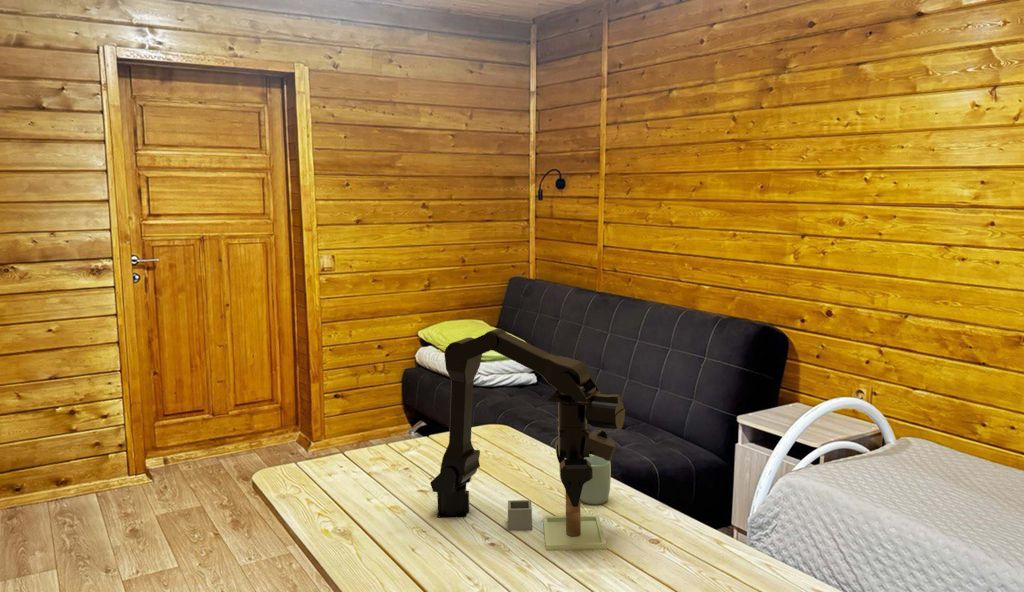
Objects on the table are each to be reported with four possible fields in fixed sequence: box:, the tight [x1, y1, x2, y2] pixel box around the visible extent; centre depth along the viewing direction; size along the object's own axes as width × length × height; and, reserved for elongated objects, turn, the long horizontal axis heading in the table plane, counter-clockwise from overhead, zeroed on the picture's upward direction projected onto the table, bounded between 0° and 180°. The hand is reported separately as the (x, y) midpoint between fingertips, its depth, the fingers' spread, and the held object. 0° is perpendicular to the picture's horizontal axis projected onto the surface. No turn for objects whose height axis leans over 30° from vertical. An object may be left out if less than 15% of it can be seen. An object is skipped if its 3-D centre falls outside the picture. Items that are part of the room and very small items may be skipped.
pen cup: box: [507, 499, 533, 532], centre depth 168 cm, size 5×5×5 cm
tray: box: [542, 514, 608, 551], centre depth 163 cm, size 12×14×2 cm
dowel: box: [565, 491, 581, 537], centre depth 162 cm, size 3×3×10 cm
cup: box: [580, 454, 612, 506], centre depth 180 cm, size 8×8×10 cm
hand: (573, 497), depth 162 cm, fingers open, 9 cm apart
